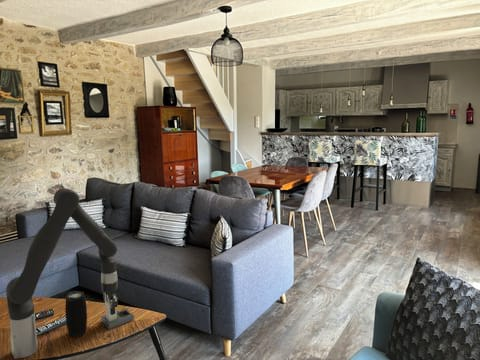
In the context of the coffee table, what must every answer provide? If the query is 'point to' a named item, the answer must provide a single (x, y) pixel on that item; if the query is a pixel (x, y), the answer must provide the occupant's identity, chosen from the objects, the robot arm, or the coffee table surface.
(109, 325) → the panel
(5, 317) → the coffee table surface
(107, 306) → the plug
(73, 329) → the portable speaker
